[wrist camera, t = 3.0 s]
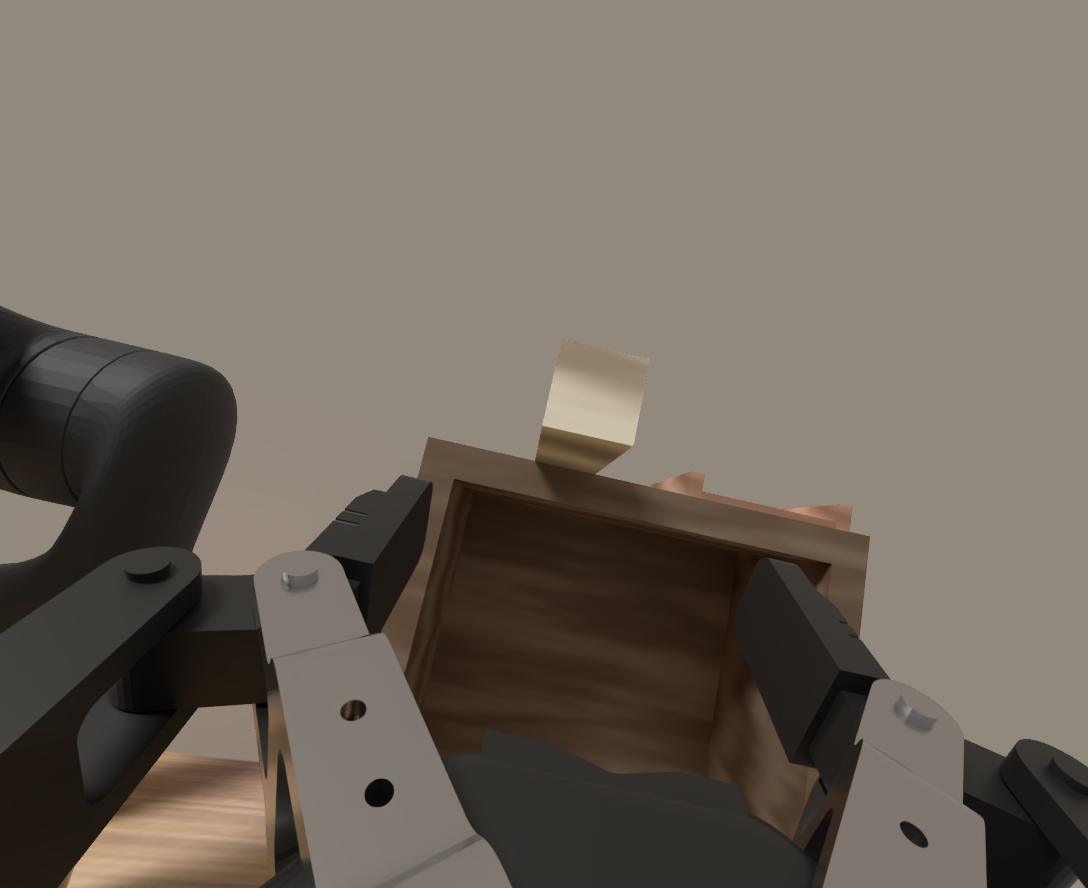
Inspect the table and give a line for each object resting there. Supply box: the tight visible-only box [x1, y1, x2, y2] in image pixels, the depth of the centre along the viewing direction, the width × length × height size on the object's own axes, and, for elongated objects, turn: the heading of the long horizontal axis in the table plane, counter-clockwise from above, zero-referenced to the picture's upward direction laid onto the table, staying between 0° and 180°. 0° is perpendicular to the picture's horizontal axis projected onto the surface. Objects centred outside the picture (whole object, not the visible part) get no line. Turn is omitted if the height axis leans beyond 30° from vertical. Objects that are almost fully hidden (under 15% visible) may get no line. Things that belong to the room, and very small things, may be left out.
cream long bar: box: [535, 340, 650, 474], centre depth 31 cm, size 24×4×4 cm, turn 3°
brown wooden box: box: [381, 437, 870, 841], centre depth 33 cm, size 14×26×33 cm, turn 93°
